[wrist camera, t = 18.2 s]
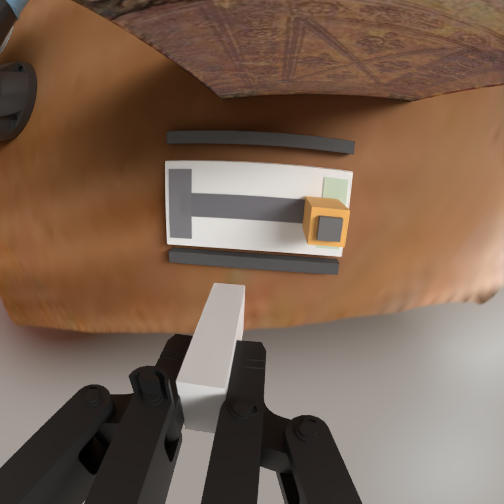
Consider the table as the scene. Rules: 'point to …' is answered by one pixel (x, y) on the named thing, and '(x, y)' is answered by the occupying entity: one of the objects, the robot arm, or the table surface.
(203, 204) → the panel
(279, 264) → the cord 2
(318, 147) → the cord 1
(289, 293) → the table surface
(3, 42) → the webcam
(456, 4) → the book
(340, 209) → the lever
